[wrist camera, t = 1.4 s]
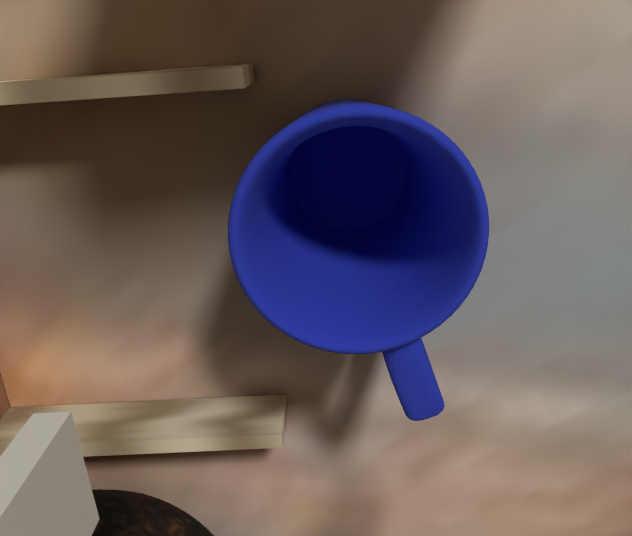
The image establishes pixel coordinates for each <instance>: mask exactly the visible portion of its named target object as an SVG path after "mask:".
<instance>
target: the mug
mask: <svg viewBox="0 0 632 536" xmlns="http://www.w3.org/2000/svg"><path fill="white" fill-rule="evenodd" d="M488 237H489V216H488V207H487V203H486V198H485V194H484V191H483V188H482V185H481V183H480V180H479V178H478V176H477V174H476V172H475V170H474V168H473V167H472V165H471V163H470V162H469V160H468V159H467V157H466V156H465V155H464V154H463V152H462V151H461V150H460V149H459V147H458V146H457V145H456V144H455V143H454V142H453V141H452V140H451V139H450V138H449V137H447V136H446V135H445V134H444V133H443V132H441V131H440V130H439V129H437V128H436V127H434V126H433V125H431V124H429V123H428V122H426V121H424V120H422V119H420V118H418V117H416V116H414V115H412V114H409V113H406V112H403V111H400V110H397V109H393V108H390V107H386V106H382V105H379V104H375V103H372V102H368V101H362V100H338V101H333V102H329V103H325V104H322V105H320V106H317V107H315V108H313V109H311V110H310V111H308V112H306V113H305V114H303V115H302V116H300V117H299V118H298V119H296V120H295V121H294V122H292V123H291V124H289V125H288V126H287V127H285V128H284V129H282V130H281V131H280V132H278V133H277V134H276V135H275V136H273V137H272V138H271V139H270V140H269V141H268V142H267V143H266V144H265V145H264V146H263V147H262V148H261V149H260V150H259V151H258V152H257V154H256V155H255V156H254V157H253V159H252V160H251V162H250V163H249V164H248V166H247V168H246V169H245V171H244V173H243V175H242V177H241V179H240V181H239V183H238V185H237V188H236V190H235V193H234V196H233V200H232V203H231V208H230V213H229V220H228V242H229V251H230V256H231V261H232V264H233V267H234V271H235V273H236V276H237V278H238V281H239V283H240V285H241V287H242V289H243V290H244V292H245V294H246V295H247V297H248V298H249V300H250V301H251V303H252V304H253V305H254V307H255V308H256V309H257V310H258V311H259V312H260V314H261V315H262V316H263V317H264V318H265V319H266V320H267V321H269V322H270V323H271V324H272V325H273V326H275V327H276V328H277V329H279V330H280V331H282V332H283V333H284V334H286V335H288V336H290V337H292V338H293V339H295V340H297V341H299V342H302V343H304V344H306V345H309V346H311V347H314V348H318V349H321V350H325V351H330V352H336V353H344V354H367V353H376V352H382V353H383V356H384V359H385V362H386V365H387V368H388V371H389V374H390V377H391V380H392V382H393V385H394V387H395V390H396V393H397V395H398V398H399V400H400V403H401V405H402V407H403V410H404V412H405V414H406V416H407V417H408V418H409V419H410V420H414V421H420V420H424V419H428V418H431V417H433V416H436V415H438V414H439V413H440V412H442V411H443V409H444V401H443V398H442V395H441V392H440V390H439V387H438V384H437V381H436V378H435V375H434V373H433V370H432V367H431V364H430V361H429V358H428V356H427V353H426V350H425V347H424V344H423V341H422V339H421V337H423V336H425V335H426V334H428V333H430V332H431V331H433V330H434V329H435V328H437V327H438V326H440V325H441V324H442V323H443V322H444V321H446V320H447V319H448V318H449V317H450V316H451V315H452V314H453V313H454V312H455V311H456V310H457V309H458V308H459V307H460V305H461V304H462V303H463V301H464V300H465V299H466V298H467V296H468V294H469V293H470V291H471V290H472V288H473V286H474V285H475V282H476V280H477V278H478V276H479V274H480V272H481V269H482V266H483V263H484V260H485V256H486V251H487V246H488Z"/></svg>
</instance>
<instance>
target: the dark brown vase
mask: <svg viewBox="0 0 632 536" xmlns="http://www.w3.org/2000/svg"><path fill="white" fill-rule="evenodd" d="M92 492H93V496H94V500H95V504H96V507H97V511H98V515H99V521H98V523H97V525H96V527H95V529H94V532H93V534H92V536H214V535H212V534H211V533H210V531H209V530H208V529H207V528H206V527H204V526H203V525H202V524H201V523H200V522H198V521H197V520H196V519H194V518H193V517H192V516H190V515H189V514H187V513H186V512H184V511H182V510H181V509H179V508H177V507H175V506H173V505H171V504H169V503H168V502H165V501H162V500H160V499H157V498H154V497H151V496H148V495H145V494H141V493H136V492H128V491H120V490H92Z"/></svg>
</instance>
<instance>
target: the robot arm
mask: <svg viewBox="0 0 632 536" xmlns="http://www.w3.org/2000/svg"><path fill="white" fill-rule="evenodd" d="M98 521H99V515H98V511H97V507H96V504H95V500H94V496H93V492H92V488H91V485H90V481H89V477H88V473H87V470H86V466H85V462H84V458H83V454H82V451H81V447H80V443H79V439H78V435H77V432H76V428H75V424H74V420H73V417H72V413H71V411H70V412H50V413H33V414H32V416H31V417H30V418H29V419H28V421H27V422H26V423H25V425H24V426H23V427H22V429H21V430H20V431H19V433H18V434H17V435H16V436H15V438H14V439H13V440H12V442H11V443H10V444H9V446H8V447H7V448H6V449H5V451H4V452H3V453H2V455H1V456H0V536H92V534H93V532H94V529H95V527H96V525H97V523H98Z"/></svg>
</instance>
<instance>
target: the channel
mask: <svg viewBox="0 0 632 536" xmlns="http://www.w3.org/2000/svg"><path fill="white" fill-rule="evenodd" d="M254 82H255V79H254V69H253V63H248V64H234V65H220V66H206V67H192V68H178V69H164V70H150V71H136V72H122V73H107V74H93V75H79V76H65V77H51V78H37V79H23V80H9V81H0V105H12V104H26V103H41V102H55V101H70V100H84V99H99V98H113V97H127V96H142V95H156V94H171V93H185V92H200V91H214V90H228V89H243V88H246V87H248V86H249V85H251V84H253V83H254ZM287 407H288V406H287V396H286V394H279V395H258V396H238V397H217V398H197V399H176V400H156V401H135V402H115V403H94V404H74V405H53V406H33V407H12V408H10V404H9V401H8V398H7V395H6V391H5V388H4V385H3V382H2V378H1V375H0V456H1V455H2V453H3V452H4V451H5V449H6V448H7V447H8V446H9V444H10V443H11V442H12V440H13V439H14V438H15V436H16V435H17V434H18V433H19V431H20V430H21V429H22V427H23V426H24V425H25V423H26V422H27V421H28V419H29V418H30V417H31V416H32V414H33V413H50V412H70V411H71V413H72V417H73V420H74V424H75V428H76V432H77V435H78V439H79V443H80V447H81V451H82V454H83V457H87V456H109V455H132V454H154V453H176V452H198V451H220V450H242V449H264V448H283V445H284V436H285V426H286V416H287Z"/></svg>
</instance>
